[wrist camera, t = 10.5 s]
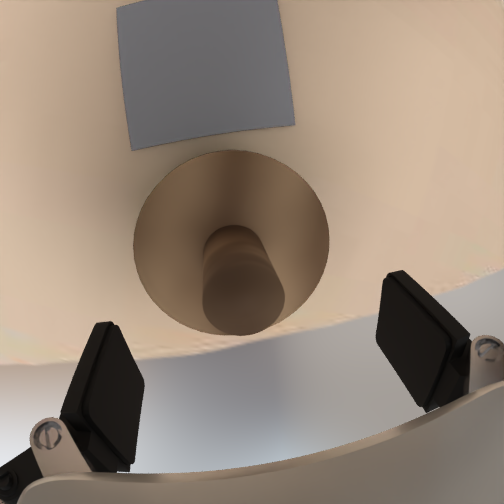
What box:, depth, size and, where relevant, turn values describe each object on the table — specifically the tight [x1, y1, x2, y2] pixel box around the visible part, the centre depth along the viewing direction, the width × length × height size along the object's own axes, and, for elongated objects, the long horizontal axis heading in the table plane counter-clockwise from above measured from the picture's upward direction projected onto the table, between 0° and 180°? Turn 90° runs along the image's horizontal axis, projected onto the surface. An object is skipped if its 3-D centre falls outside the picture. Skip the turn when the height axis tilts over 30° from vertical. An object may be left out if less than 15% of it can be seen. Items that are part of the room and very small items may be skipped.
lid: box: [133, 150, 329, 336], centre depth 16 cm, size 12×12×6 cm
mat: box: [117, 0, 295, 151], centre depth 18 cm, size 12×12×1 cm
